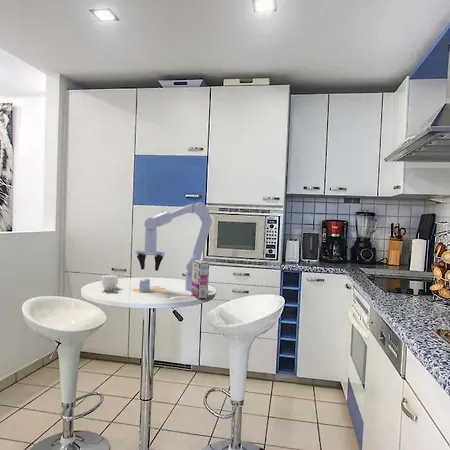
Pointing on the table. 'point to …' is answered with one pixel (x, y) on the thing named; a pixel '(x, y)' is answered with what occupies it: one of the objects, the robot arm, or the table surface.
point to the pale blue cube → (144, 285)
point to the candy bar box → (200, 279)
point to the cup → (109, 282)
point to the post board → (152, 289)
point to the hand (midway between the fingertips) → (149, 269)
